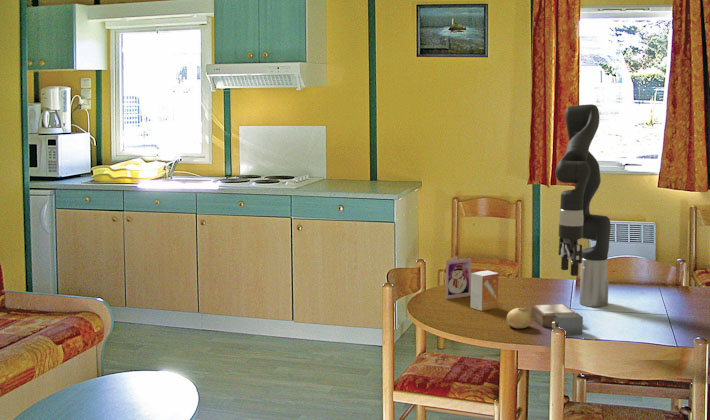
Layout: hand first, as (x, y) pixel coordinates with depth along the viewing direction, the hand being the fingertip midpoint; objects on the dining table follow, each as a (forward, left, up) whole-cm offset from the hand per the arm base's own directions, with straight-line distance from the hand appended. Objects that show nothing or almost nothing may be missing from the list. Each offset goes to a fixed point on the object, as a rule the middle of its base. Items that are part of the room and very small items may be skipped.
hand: (569, 272), depth 259 cm
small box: (+19, -33, -20) cm, 43 cm away
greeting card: (+26, -51, -20) cm, 61 cm away
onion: (+14, -8, -20) cm, 26 cm away
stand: (0, -13, -20) cm, 24 cm away
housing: (0, 0, -20) cm, 20 cm away
